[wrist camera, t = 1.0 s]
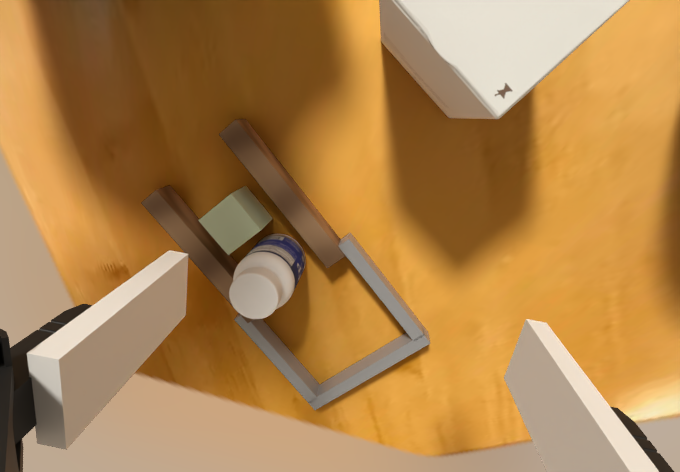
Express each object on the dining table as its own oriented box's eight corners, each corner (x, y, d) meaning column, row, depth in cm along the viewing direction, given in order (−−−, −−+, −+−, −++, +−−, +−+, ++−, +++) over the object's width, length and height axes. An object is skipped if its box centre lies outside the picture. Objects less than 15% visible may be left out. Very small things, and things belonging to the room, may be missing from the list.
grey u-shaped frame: (240, 310, 41) (234, 319, 40) (350, 232, 38) (348, 238, 36) (317, 397, 44) (315, 410, 42) (428, 332, 40) (430, 343, 38)
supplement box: (538, 38, 31) (667, -22, 17) (449, 120, 34) (498, 127, 20) (463, -55, 30) (537, -203, 16) (376, 38, 33) (373, -19, 18)
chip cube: (216, 209, 39) (198, 220, 35) (246, 185, 38) (230, 193, 34) (243, 241, 39) (228, 255, 35) (273, 218, 38) (261, 230, 34)
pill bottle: (293, 290, 40) (269, 338, 32) (246, 267, 40) (210, 309, 32) (315, 247, 39) (297, 285, 30) (267, 222, 38) (235, 254, 30)
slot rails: (155, 197, 39) (141, 203, 36) (245, 118, 36) (235, 119, 33) (255, 311, 41) (247, 323, 39) (346, 247, 38) (344, 256, 36)
